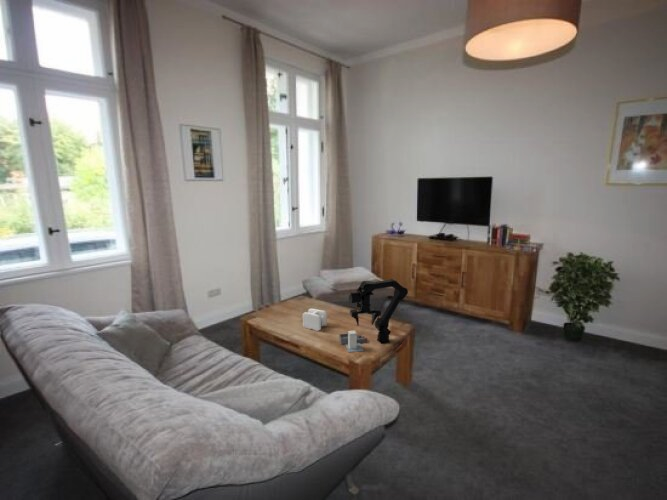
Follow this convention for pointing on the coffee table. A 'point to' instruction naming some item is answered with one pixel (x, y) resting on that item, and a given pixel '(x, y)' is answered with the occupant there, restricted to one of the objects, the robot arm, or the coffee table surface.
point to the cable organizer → (314, 319)
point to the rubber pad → (359, 348)
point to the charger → (352, 339)
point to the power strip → (344, 338)
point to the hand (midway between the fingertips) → (365, 325)
